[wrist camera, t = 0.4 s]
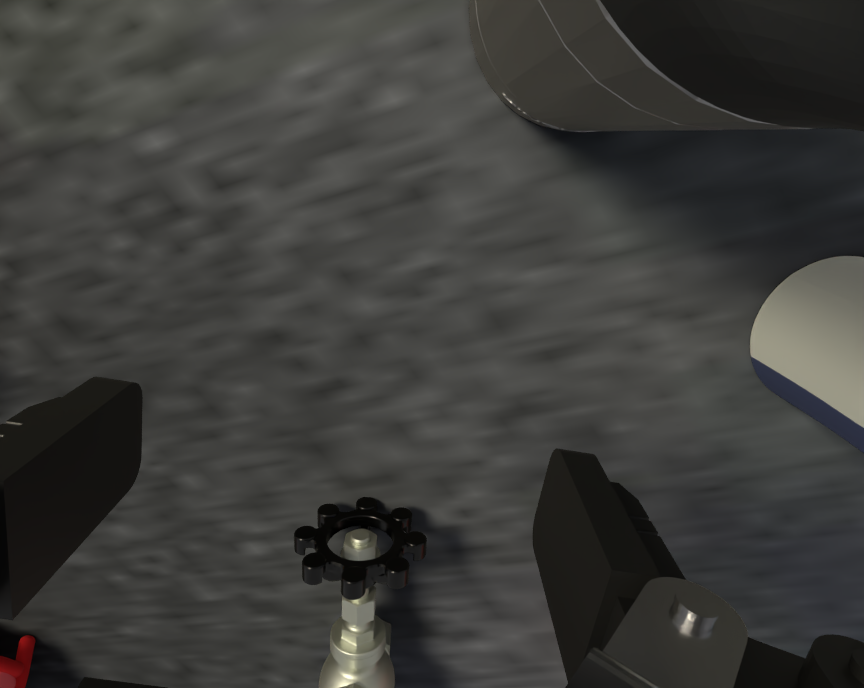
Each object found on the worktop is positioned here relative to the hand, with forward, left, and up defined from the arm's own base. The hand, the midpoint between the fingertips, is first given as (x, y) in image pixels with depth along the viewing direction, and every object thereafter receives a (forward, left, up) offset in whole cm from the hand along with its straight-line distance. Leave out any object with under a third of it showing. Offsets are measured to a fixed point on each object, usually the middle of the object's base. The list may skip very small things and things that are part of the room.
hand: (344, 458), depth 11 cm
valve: (+19, +4, -18) cm, 26 cm away
